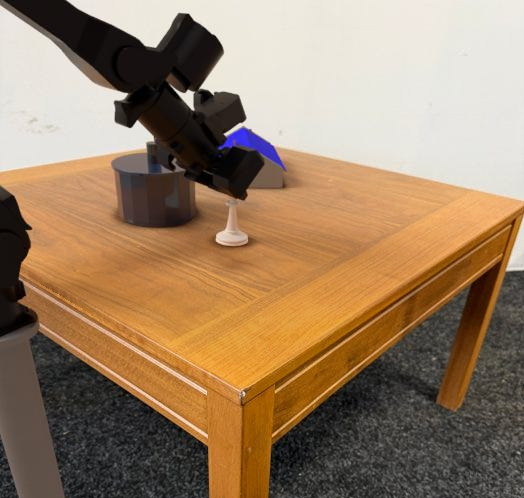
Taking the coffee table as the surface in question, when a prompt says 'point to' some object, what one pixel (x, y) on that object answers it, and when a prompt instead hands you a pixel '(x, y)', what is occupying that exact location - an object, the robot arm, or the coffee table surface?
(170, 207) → the pot
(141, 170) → the pot lid
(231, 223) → the chess piece
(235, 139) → the toy house
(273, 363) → the coffee table surface
